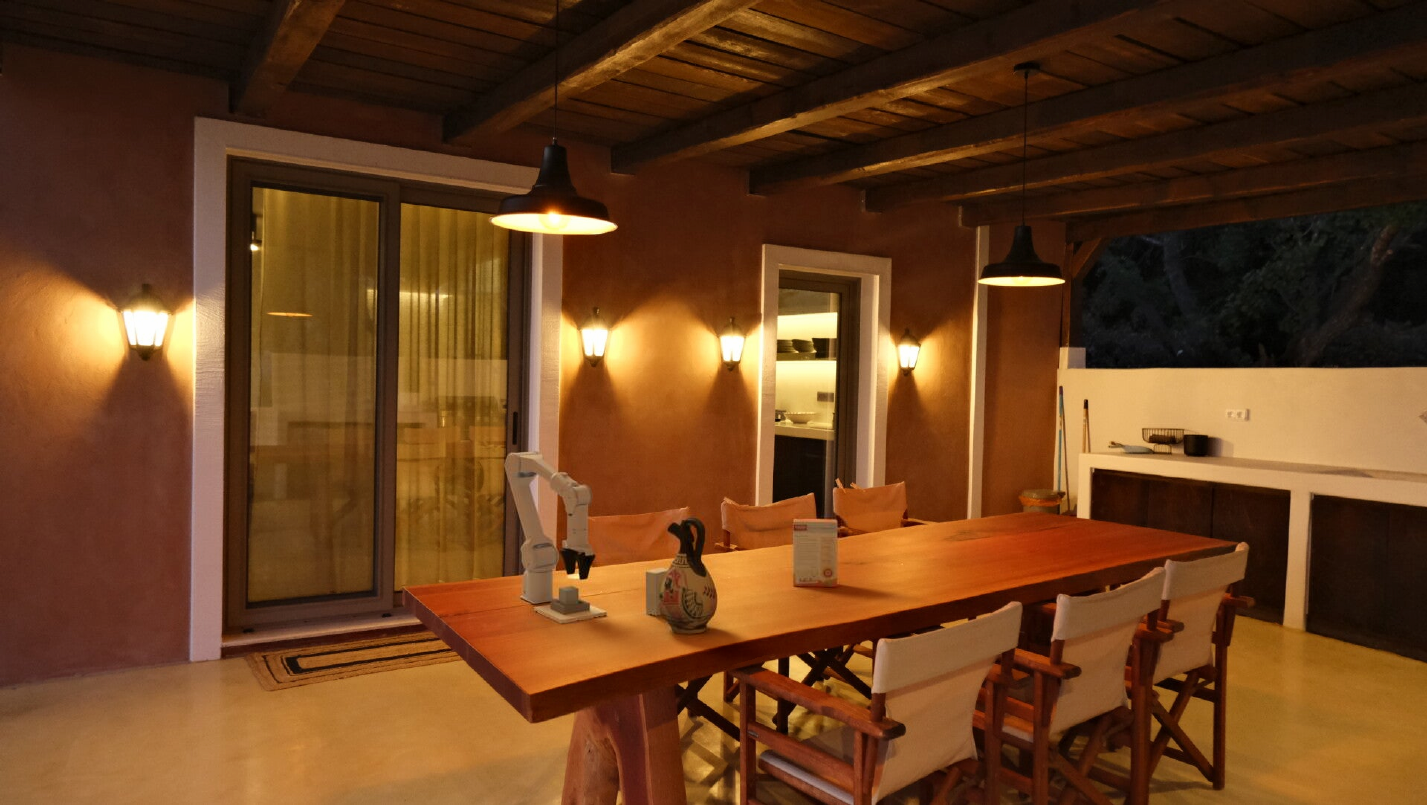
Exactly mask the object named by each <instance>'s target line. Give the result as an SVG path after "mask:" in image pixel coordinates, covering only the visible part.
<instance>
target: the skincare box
mask: <svg viewBox="0 0 1427 805" xmlns="http://www.w3.org/2000/svg"><path fill="white" fill-rule="evenodd" d="M668 569H669V568H663V567H658V568H653V569H650V570H646V571H645V615H650V614H652V615H651V616H654V615H655V616H654V617H657V615H658V616H661V615H662V614H661V612H660V608H659V593H660V588H661V584H662V580H663V578H664V576H665V574H666V572H667V571H668ZM660 614H661V615H660Z"/></svg>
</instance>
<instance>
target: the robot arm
mask: <svg viewBox="0 0 1427 805" xmlns="http://www.w3.org/2000/svg"><path fill="white" fill-rule="evenodd" d="M503 466H504V470H505V473H506V477H507V480H508V483H509V485H510V489H511V493H512V496H513V500H514V503H515V506H516V510H517V514H518V517H519V520H520V523H521V528H522V531H523V534H524V537H525V541H524V542H523V544H522V545H521V547H520V549H519V550H520V553H521V564H522V566H523V568H524V569H525V571H524V572H523V575H522V595H520V596H519V598H520V599H522V600H524V601H526V602H529V603H531V604H534V605H536V604H542V603H548V602H551V601H557V600H559V597H556V596H554V593H553V592H554V590H553V588H554V586H553V584H554V582H553V580H554V579H553V578H554V577H553V576H554V572H553V571H554V569H556V566H557V564H558V562H559V559H560V556H561V557H562V560H563V562H564V563H563V564H564V569H565V572H566V575H568V576H569V575H575V572H576V565H577V568H578V577H579V580H581V581H582V580H587V579H588V578H589V575H590V569H591V567H592V565H593V562H594V560H595V559H596V556H597V555H596V554H595V553H594V548H593V547H592V546H591V545H590V544H589V541H588V538H589V537H588V532H589V531H588V530H589V528H588V526H589V524H588V523H589V516H588V514H589V505H590V504H591V503H592V501H593V491H592V489H591V487H589V486H588V485H587V484H579V483H578V481H576V480H574V479H572V478H571V477H570V476H569V475H568V473H567V472H563V471H560V472H557V471H556V470H555V469H554V468H553V467H552V466H551V465H549V463H548V462H546V461H545V458H544V455H542V454H541V453H540V452H538V451H537V450H534V451H527V452H526V451H524V452H510V453H508V455H507V456H506V459H505V462H504V464H503ZM537 475H538V476H539V477H541V478H542V479H544V480H545V481H547V482H548V483H549V488H550V489H551V491H552V490H553V491H554V492H555V493H556V494H557V495H559V496H560V497H562V501H563V504H564V506H565V513H566V514H567V517H566V518H567V519H566V520H567V521H566V525H567V526H566V528H567V529H566V537H567V538H566V540H565V539H564V540H562V542H561V544H562V545H561V548H563V549H559V550H558V547H556V546H555V544H554V542H553V539H552V538H550V537H548V536H547V535H546V534H545V533H544V530H543V527H542V524H541V520H540V517H539V514H538V510H537V506H536V503H535V500H534V497H533V493H532V491H531V490H532V488H531V487H530V485H531V483H532V482H533V481H534V480H535V478H537Z"/></svg>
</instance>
